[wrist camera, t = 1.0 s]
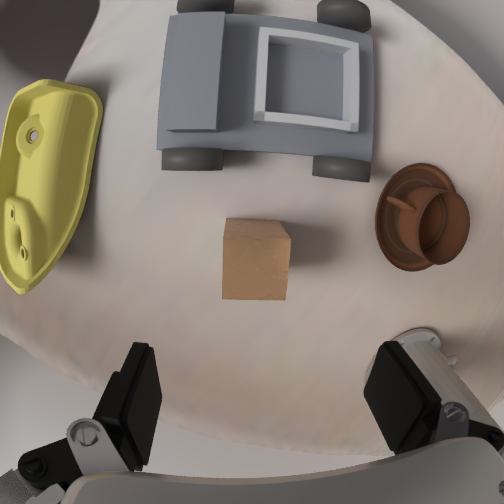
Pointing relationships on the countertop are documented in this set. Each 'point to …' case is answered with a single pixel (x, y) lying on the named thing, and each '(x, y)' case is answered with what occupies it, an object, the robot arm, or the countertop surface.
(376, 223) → the cup and saucer
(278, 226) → the wooden block
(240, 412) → the countertop surface
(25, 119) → the plastic component
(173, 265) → the countertop surface
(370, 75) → the chassis
